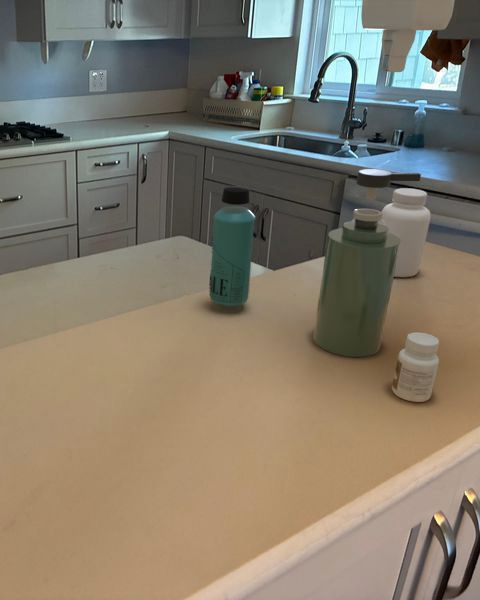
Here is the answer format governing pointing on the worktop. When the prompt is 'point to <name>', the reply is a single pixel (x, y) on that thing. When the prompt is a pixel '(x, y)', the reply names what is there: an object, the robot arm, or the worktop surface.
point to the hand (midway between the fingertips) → (392, 71)
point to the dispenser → (356, 286)
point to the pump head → (381, 180)
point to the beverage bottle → (232, 249)
